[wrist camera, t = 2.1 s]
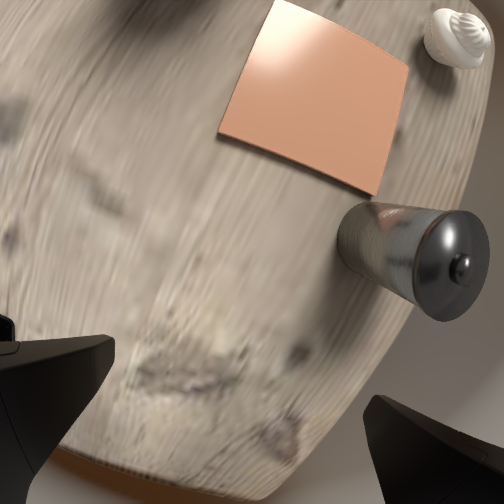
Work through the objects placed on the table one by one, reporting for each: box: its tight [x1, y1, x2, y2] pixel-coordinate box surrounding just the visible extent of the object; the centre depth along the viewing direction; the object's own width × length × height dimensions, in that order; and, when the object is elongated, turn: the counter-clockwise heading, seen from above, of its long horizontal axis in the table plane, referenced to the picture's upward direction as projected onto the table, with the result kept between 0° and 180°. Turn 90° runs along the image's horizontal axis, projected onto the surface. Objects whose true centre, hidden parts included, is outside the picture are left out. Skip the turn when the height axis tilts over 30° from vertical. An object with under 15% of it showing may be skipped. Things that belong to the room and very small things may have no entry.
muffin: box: [423, 9, 491, 69], centre depth 17 cm, size 6×6×7 cm
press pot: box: [337, 202, 490, 322], centre depth 17 cm, size 6×6×10 cm
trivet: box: [218, 0, 409, 196], centre depth 19 cm, size 12×12×1 cm
